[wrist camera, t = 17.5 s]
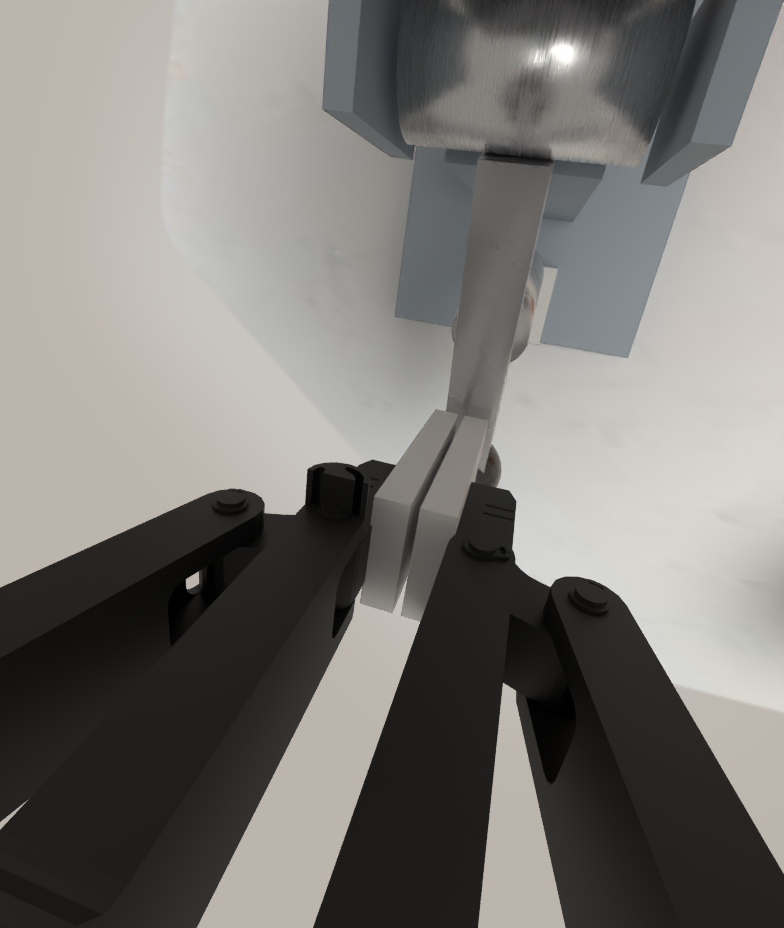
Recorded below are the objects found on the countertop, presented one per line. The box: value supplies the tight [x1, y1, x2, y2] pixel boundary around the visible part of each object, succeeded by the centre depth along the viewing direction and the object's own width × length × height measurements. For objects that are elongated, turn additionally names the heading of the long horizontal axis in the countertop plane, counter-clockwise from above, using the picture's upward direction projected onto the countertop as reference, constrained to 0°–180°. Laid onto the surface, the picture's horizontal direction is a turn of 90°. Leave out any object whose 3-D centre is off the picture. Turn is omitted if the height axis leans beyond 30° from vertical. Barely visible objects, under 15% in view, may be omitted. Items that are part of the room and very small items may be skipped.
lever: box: [396, 0, 696, 487], centre depth 14 cm, size 18×6×9 cm, turn 172°
